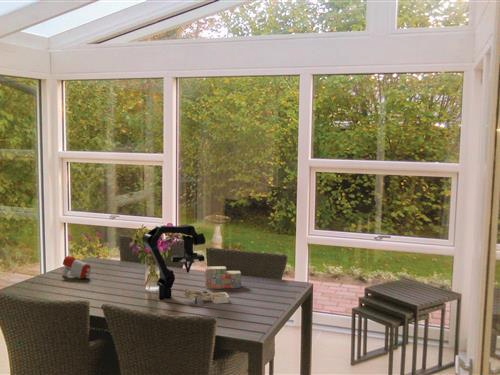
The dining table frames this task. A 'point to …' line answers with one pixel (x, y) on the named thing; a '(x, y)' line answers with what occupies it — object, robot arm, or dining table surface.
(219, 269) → the stack of blocks
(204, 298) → the lever
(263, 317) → the dining table surface
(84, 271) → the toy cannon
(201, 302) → the fulcrum
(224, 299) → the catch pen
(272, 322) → the dining table surface
